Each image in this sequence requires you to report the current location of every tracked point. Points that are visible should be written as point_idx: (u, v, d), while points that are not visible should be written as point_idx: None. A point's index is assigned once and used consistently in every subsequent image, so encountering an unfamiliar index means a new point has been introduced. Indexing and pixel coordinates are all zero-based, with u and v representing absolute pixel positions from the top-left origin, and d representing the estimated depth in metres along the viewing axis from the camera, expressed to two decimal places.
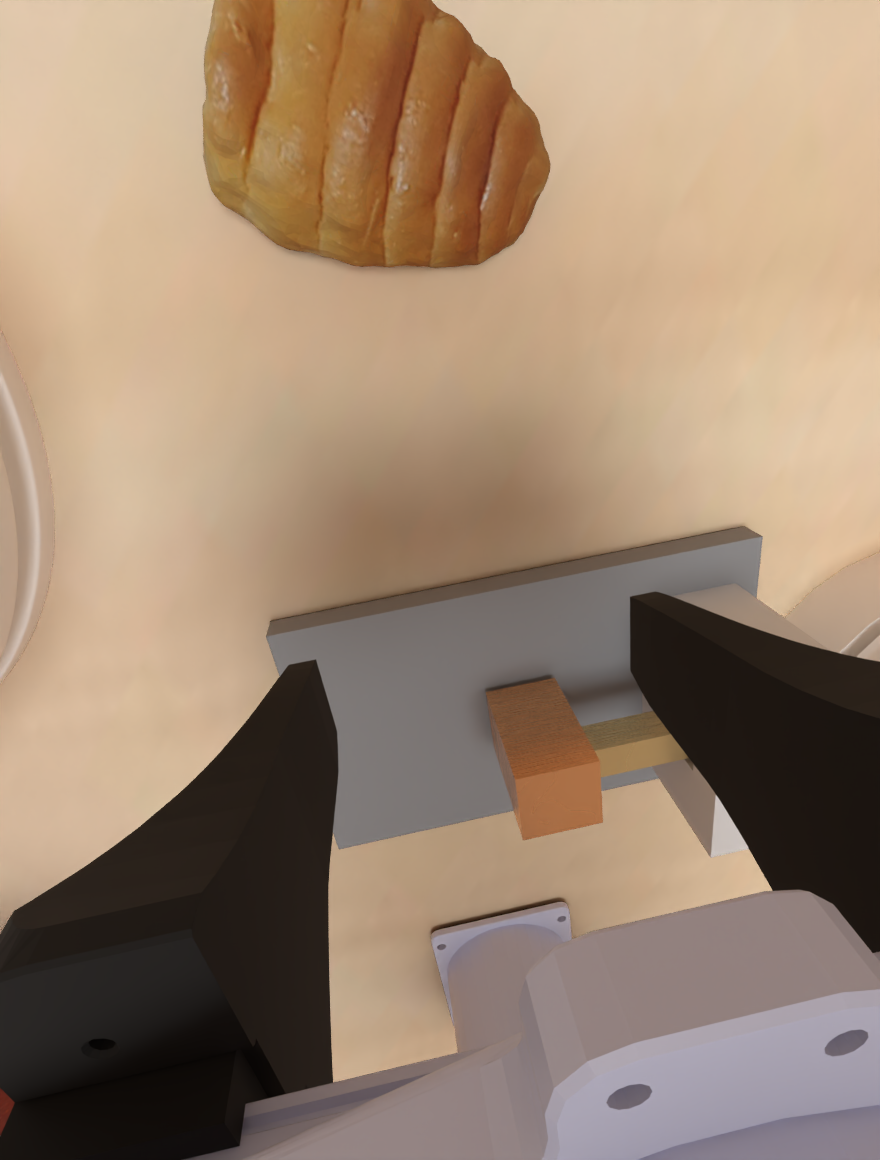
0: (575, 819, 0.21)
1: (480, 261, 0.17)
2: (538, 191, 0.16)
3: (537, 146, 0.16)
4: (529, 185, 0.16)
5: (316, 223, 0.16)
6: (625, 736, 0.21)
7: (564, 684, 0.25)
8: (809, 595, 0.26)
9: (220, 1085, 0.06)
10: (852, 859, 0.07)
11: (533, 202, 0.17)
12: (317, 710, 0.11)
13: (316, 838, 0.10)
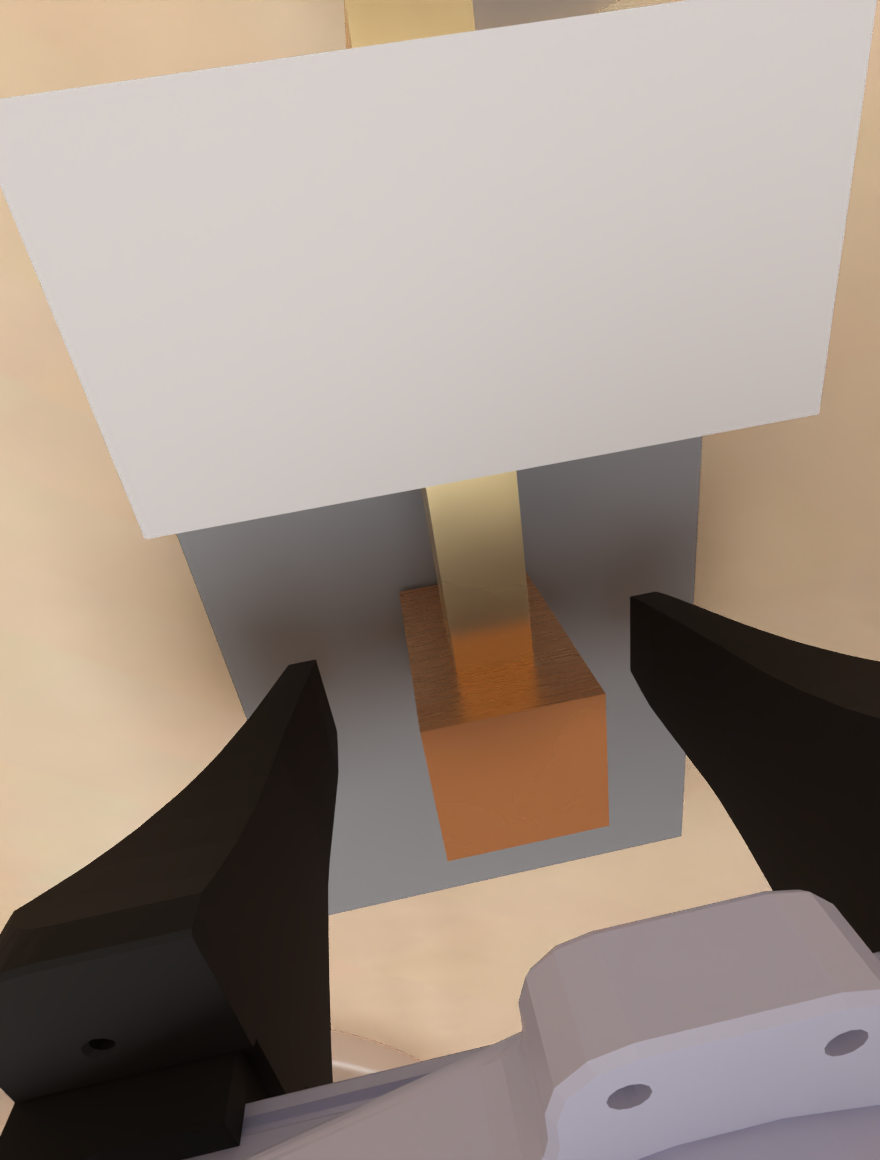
0: (579, 748, 0.09)
1: None
2: None
3: None
4: None
5: None
6: (440, 584, 0.10)
7: (423, 562, 0.13)
8: None
9: (219, 1086, 0.06)
10: (852, 859, 0.07)
11: None
12: (317, 710, 0.11)
13: (316, 838, 0.10)
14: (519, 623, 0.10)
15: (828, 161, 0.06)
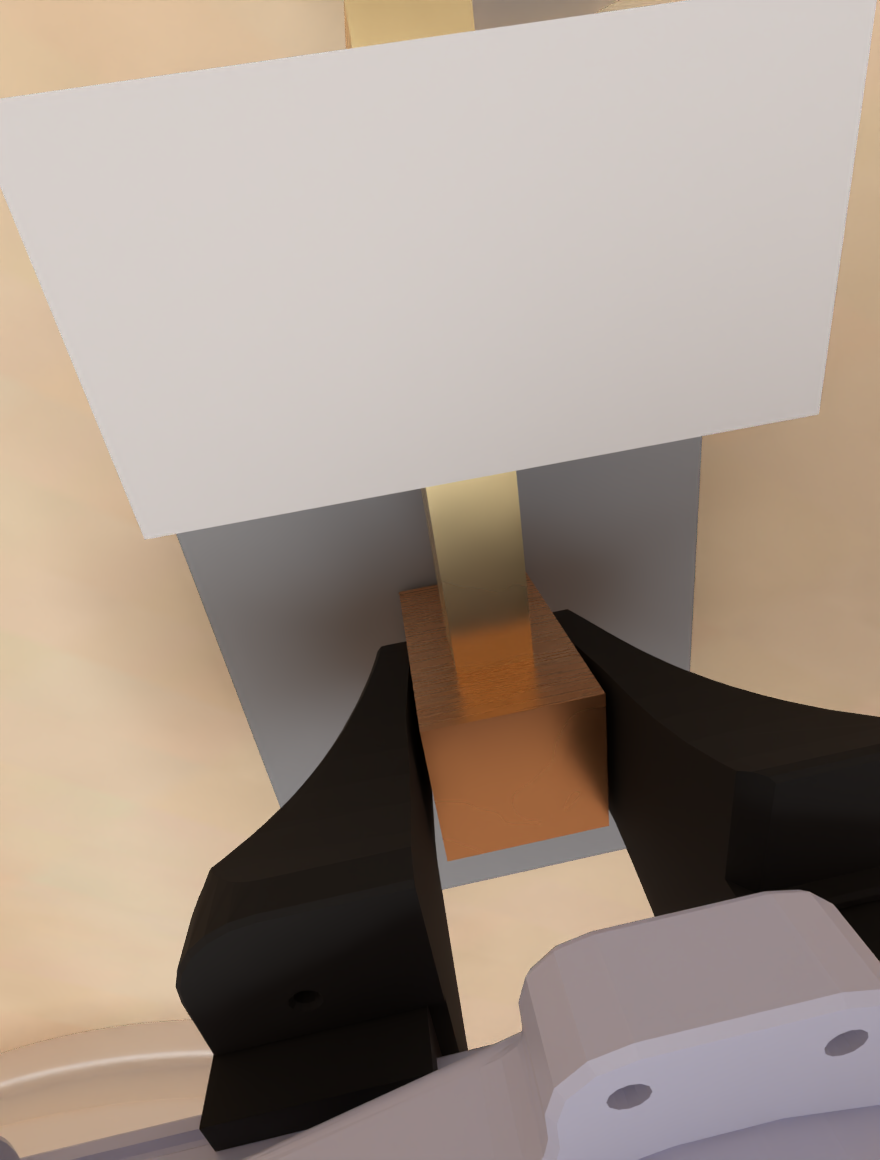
0: (579, 748, 0.09)
1: None
2: None
3: None
4: None
5: None
6: (440, 584, 0.10)
7: (423, 562, 0.13)
8: None
9: (418, 1038, 0.06)
10: (702, 893, 0.07)
11: None
12: None
13: (428, 814, 0.10)
14: (519, 623, 0.10)
15: (827, 161, 0.06)
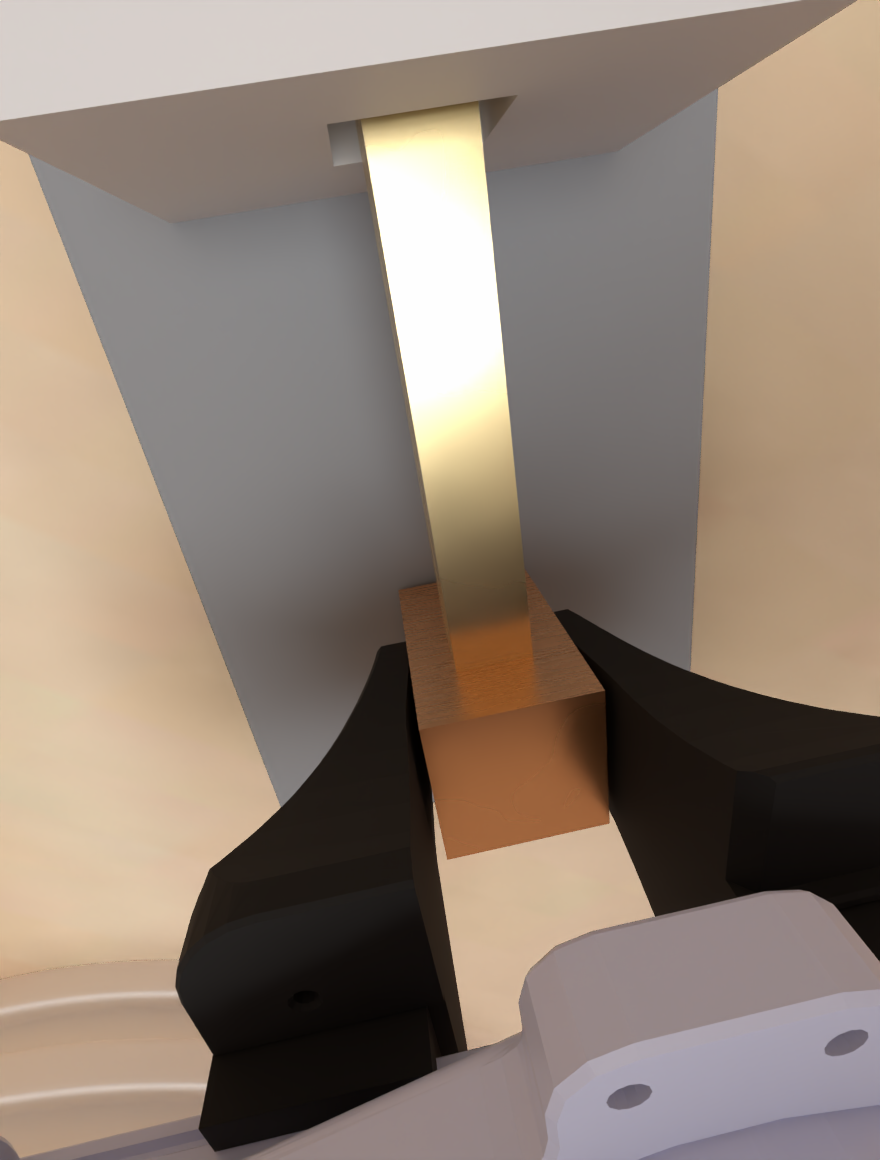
0: (579, 745, 0.09)
1: None
2: None
3: None
4: None
5: None
6: (439, 581, 0.10)
7: (391, 393, 0.12)
8: None
9: (417, 1038, 0.06)
10: (702, 894, 0.07)
11: None
12: None
13: (427, 814, 0.10)
14: (518, 620, 0.10)
15: None
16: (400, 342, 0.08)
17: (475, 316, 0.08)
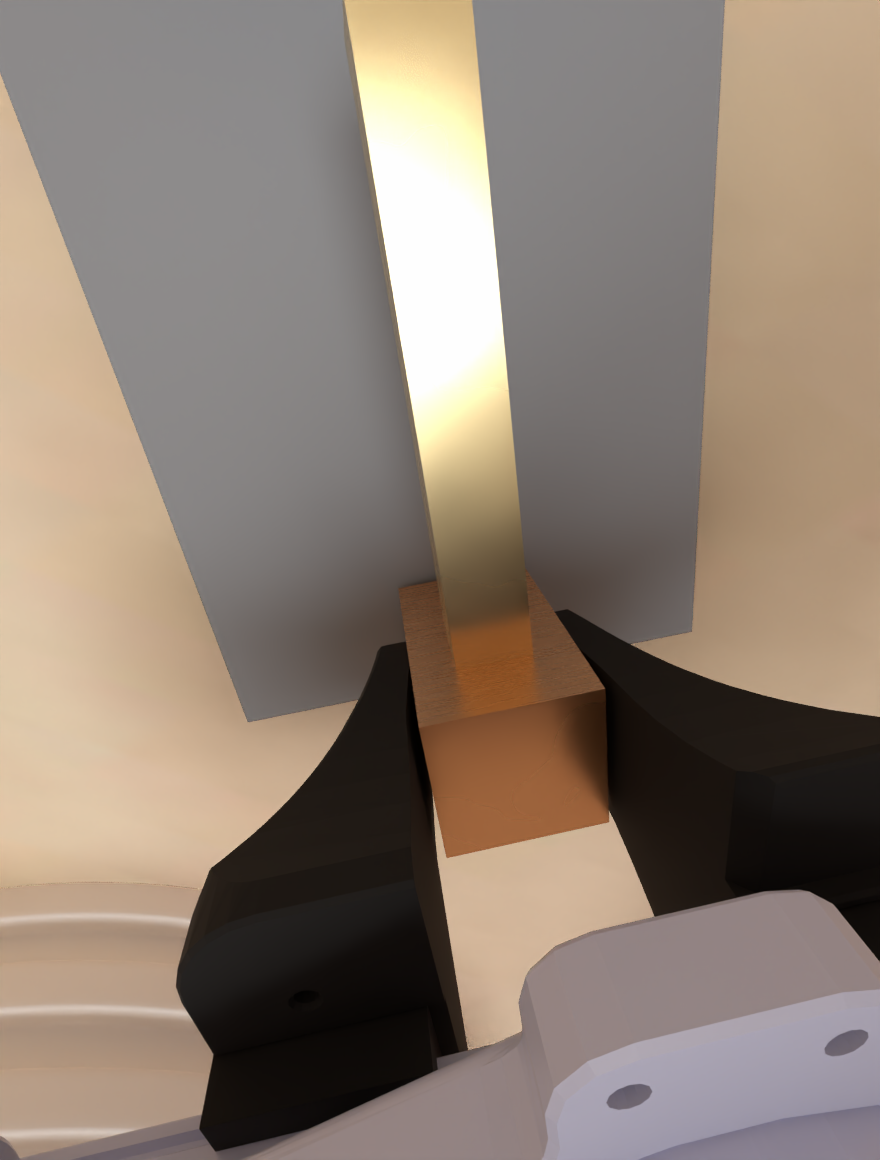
0: (579, 743, 0.09)
1: None
2: None
3: None
4: None
5: None
6: (439, 579, 0.10)
7: (349, 151, 0.10)
8: None
9: (418, 1039, 0.06)
10: (702, 894, 0.07)
11: None
12: None
13: (428, 814, 0.10)
14: (518, 618, 0.10)
15: None
16: (401, 338, 0.08)
17: (477, 313, 0.08)
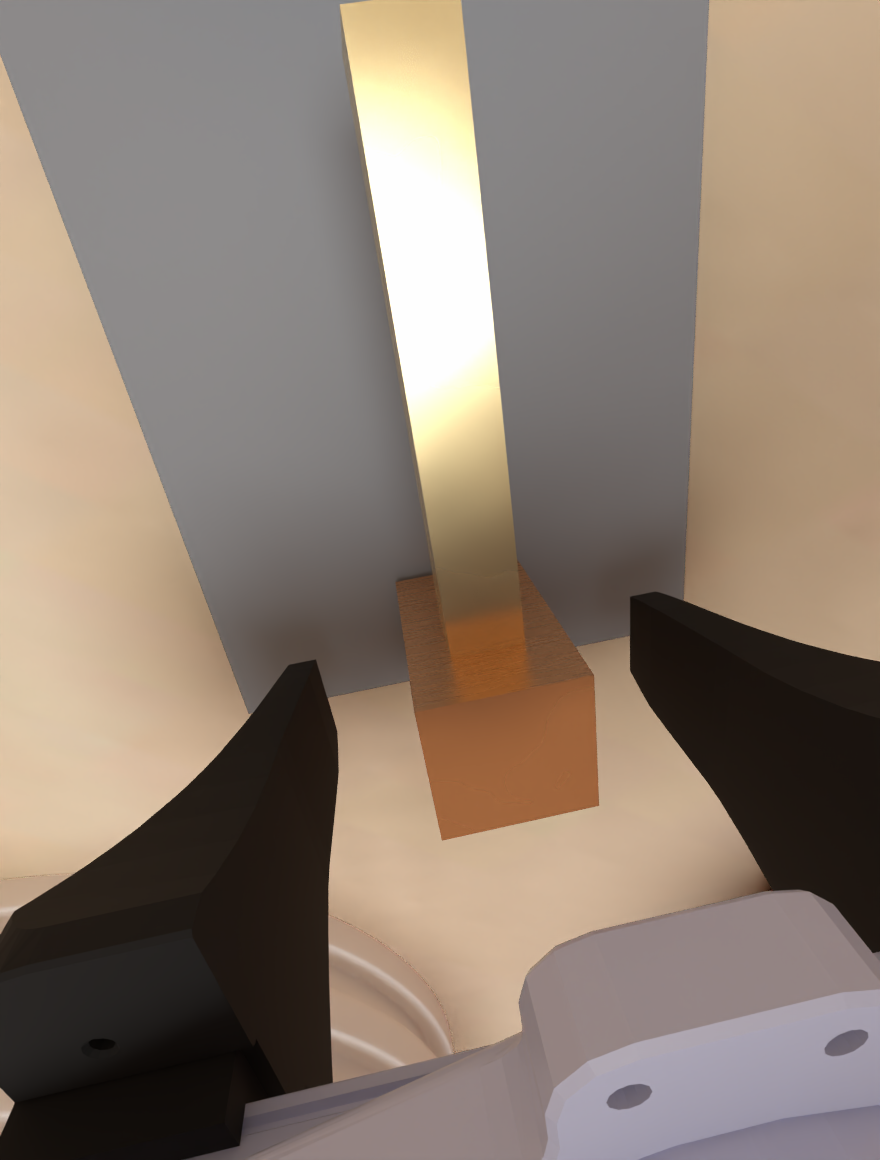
0: (569, 728, 0.10)
1: None
2: None
3: None
4: None
5: None
6: (434, 570, 0.10)
7: (346, 158, 0.10)
8: None
9: (219, 1086, 0.06)
10: (852, 859, 0.07)
11: None
12: (317, 710, 0.11)
13: (316, 838, 0.10)
14: (511, 608, 0.10)
15: None
16: (397, 338, 0.08)
17: (469, 314, 0.08)
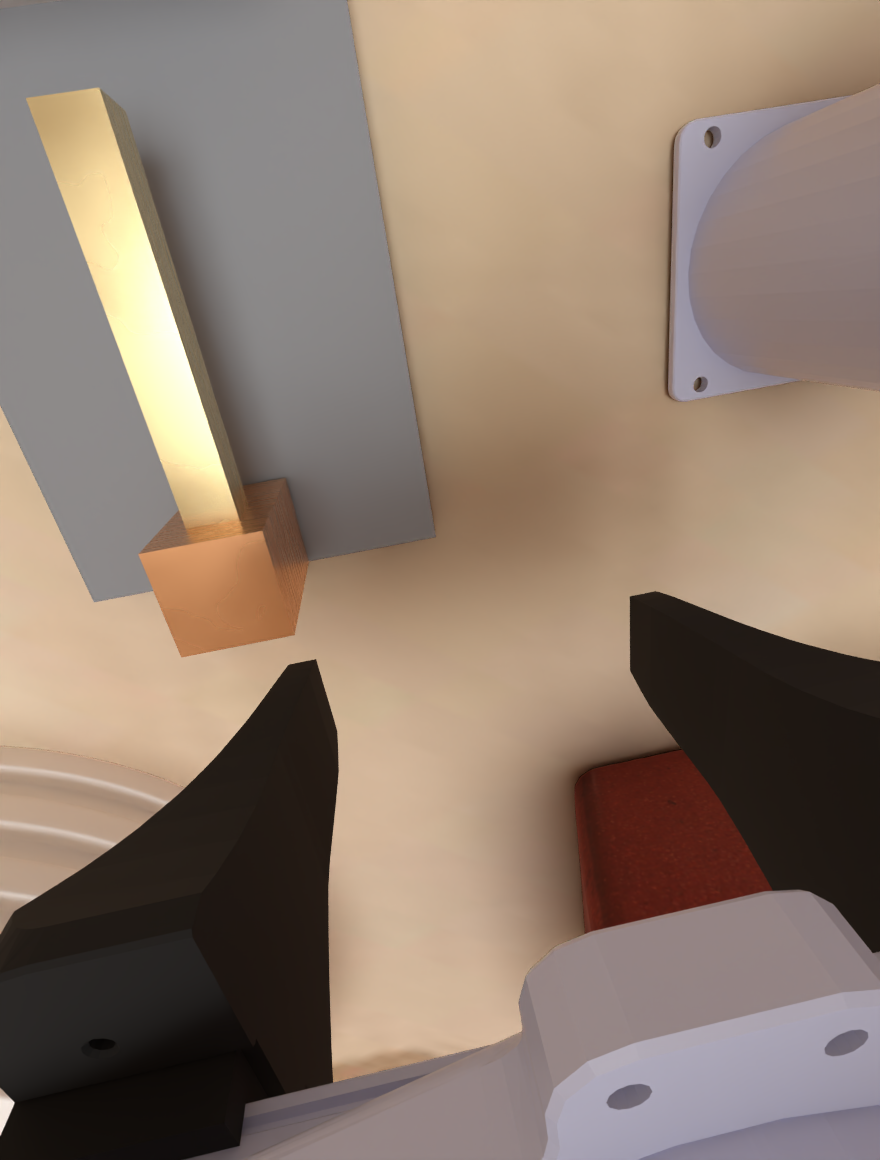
0: (255, 571, 0.14)
1: None
2: None
3: None
4: None
5: None
6: None
7: None
8: None
9: (219, 1086, 0.06)
10: (852, 859, 0.07)
11: None
12: (317, 710, 0.11)
13: (316, 838, 0.10)
14: (222, 492, 0.15)
15: None
16: (102, 300, 0.13)
17: (147, 284, 0.12)
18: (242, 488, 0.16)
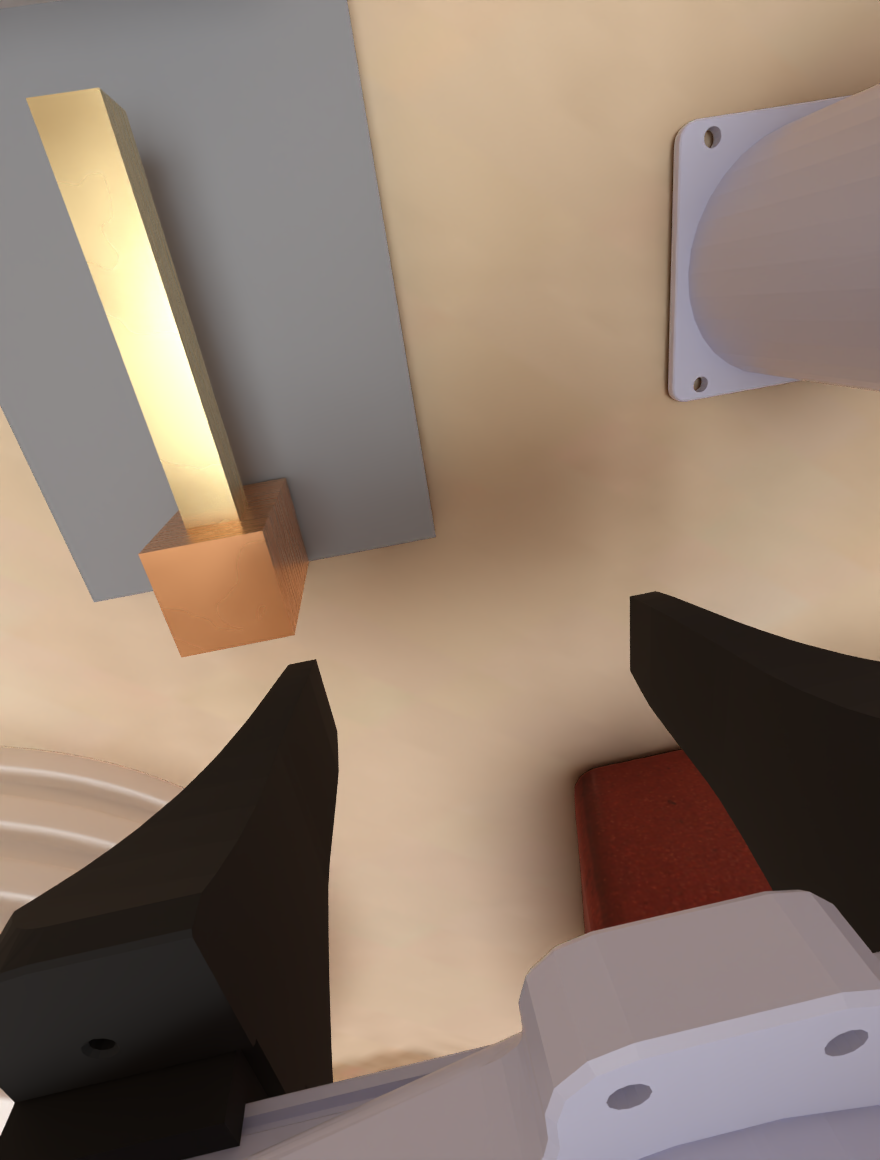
0: (255, 571, 0.14)
1: None
2: None
3: None
4: None
5: None
6: None
7: None
8: None
9: (219, 1086, 0.06)
10: (852, 859, 0.07)
11: None
12: (317, 710, 0.11)
13: (316, 838, 0.10)
14: (222, 492, 0.15)
15: None
16: (102, 300, 0.13)
17: (147, 284, 0.12)
18: (242, 488, 0.16)
